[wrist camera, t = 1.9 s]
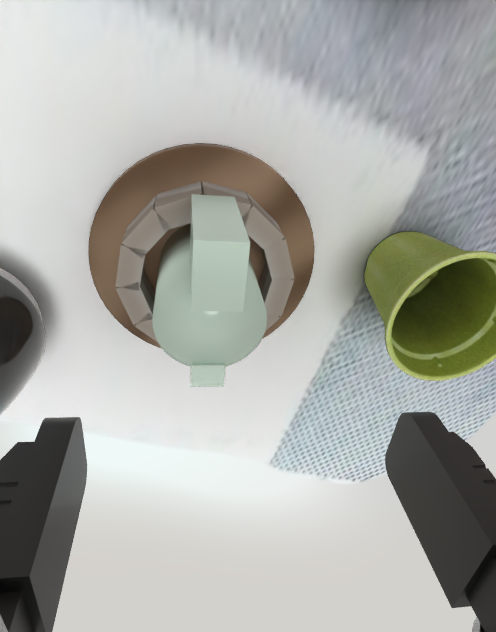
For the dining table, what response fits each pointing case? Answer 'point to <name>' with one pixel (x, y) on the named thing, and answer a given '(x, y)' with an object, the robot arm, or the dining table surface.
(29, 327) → the dark rounded figure
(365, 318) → the dining table surface
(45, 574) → the robot arm
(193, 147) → the stone ring brown dish
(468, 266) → the plant pot
